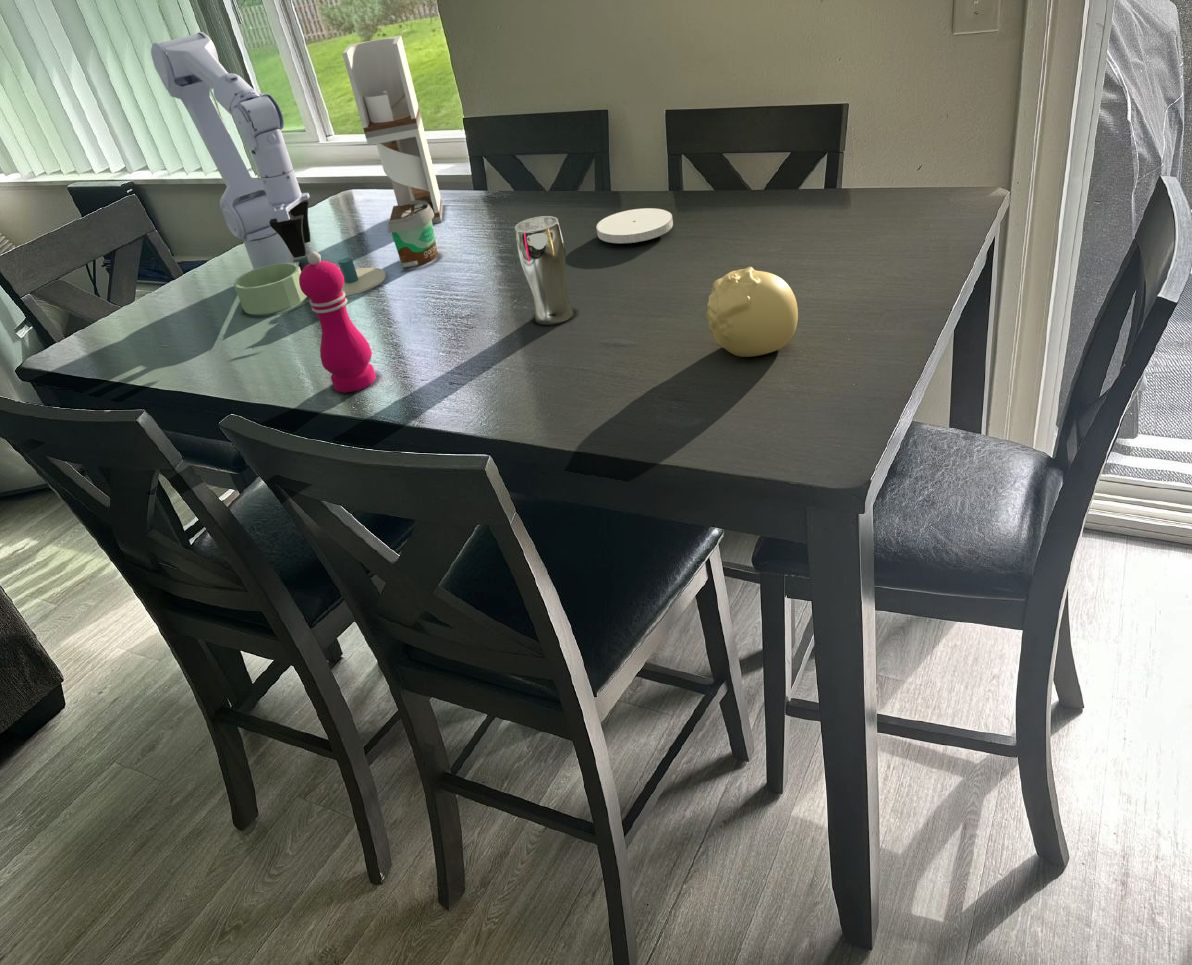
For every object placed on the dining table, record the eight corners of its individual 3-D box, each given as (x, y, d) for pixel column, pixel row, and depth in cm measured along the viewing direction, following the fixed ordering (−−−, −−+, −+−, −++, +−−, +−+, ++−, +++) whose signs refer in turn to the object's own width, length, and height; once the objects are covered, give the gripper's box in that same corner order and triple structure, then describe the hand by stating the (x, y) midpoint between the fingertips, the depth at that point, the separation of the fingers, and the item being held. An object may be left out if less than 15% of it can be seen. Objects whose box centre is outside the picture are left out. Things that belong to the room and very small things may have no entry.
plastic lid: (686, 223, 173) (685, 209, 172) (649, 251, 164) (648, 237, 162) (622, 219, 180) (621, 206, 179) (584, 246, 171) (581, 232, 170)
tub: (250, 298, 175) (240, 270, 172) (311, 286, 176) (302, 258, 173) (240, 322, 165) (229, 293, 162) (305, 308, 166) (295, 279, 163)
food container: (431, 272, 172) (417, 219, 166) (401, 274, 173) (386, 221, 168) (453, 247, 182) (440, 196, 176) (423, 249, 183) (410, 199, 178)
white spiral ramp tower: (395, 215, 206) (349, 44, 187) (442, 206, 207) (400, 34, 187) (391, 231, 197) (342, 53, 178) (441, 221, 197) (397, 42, 178)
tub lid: (322, 281, 177) (313, 255, 174) (387, 268, 178) (380, 242, 175) (316, 305, 166) (306, 278, 164) (385, 291, 167) (377, 264, 164)
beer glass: (582, 307, 147) (566, 214, 139) (567, 326, 142) (549, 231, 134) (542, 307, 150) (524, 216, 142) (525, 326, 145) (505, 232, 136)
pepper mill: (334, 375, 140) (291, 247, 129) (382, 367, 140) (342, 238, 129) (327, 398, 134) (280, 266, 123) (376, 389, 134) (334, 256, 123)
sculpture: (707, 334, 133) (700, 262, 127) (792, 323, 131) (789, 250, 125) (713, 371, 123) (706, 294, 117) (805, 359, 122) (802, 282, 116)
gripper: (294, 178, 153) (320, 257, 161) (304, 158, 165) (328, 232, 173) (252, 187, 153) (280, 265, 160) (265, 165, 165) (290, 239, 172)
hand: (302, 249), depth 166 cm, fingers open, 7 cm apart
